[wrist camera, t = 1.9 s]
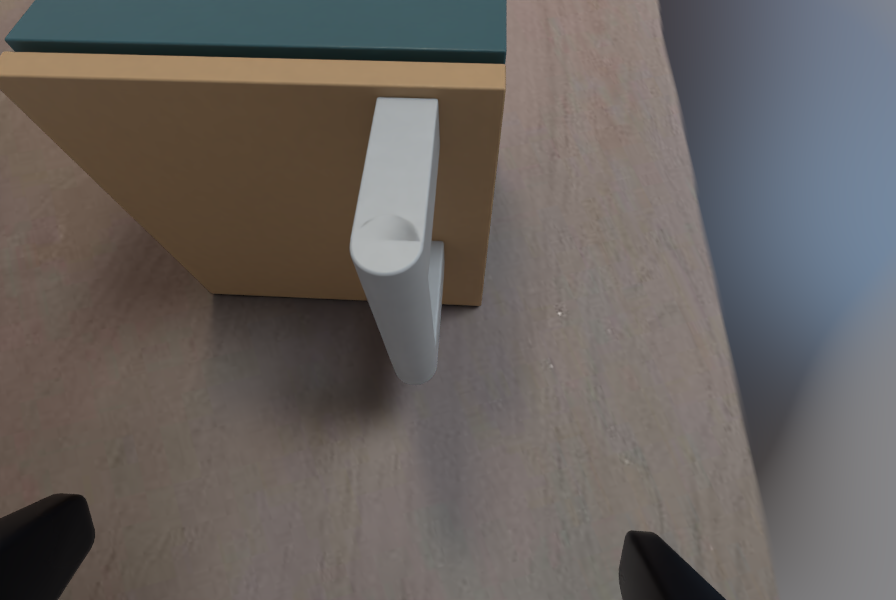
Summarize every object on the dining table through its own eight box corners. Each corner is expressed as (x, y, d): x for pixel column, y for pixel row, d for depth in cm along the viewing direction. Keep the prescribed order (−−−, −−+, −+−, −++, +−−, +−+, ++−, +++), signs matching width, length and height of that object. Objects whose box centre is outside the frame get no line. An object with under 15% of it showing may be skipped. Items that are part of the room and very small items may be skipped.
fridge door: (478, 414, 20) (505, 272, 9) (176, 397, 20) (-150, 244, 9) (481, 288, 23) (505, 63, 12) (216, 276, 23) (2, 50, 12)
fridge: (481, 285, 23) (506, 51, 12) (219, 274, 23) (2, 39, 12) (485, 141, 27) (506, -128, 16) (265, 134, 28) (138, -131, 17)
